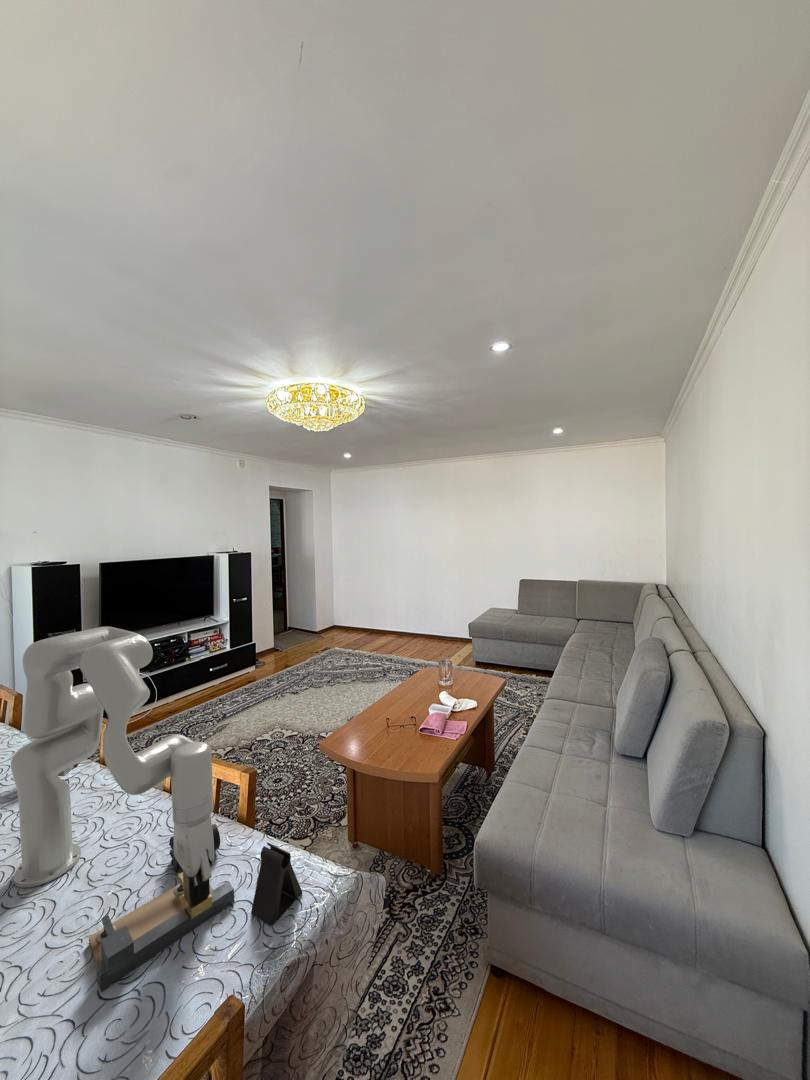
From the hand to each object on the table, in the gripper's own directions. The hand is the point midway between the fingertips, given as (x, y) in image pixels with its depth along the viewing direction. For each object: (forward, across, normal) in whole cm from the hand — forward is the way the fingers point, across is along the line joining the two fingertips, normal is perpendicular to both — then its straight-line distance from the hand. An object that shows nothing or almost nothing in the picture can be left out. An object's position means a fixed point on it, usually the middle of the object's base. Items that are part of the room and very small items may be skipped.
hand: (196, 893), depth 87 cm
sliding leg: (+4, -4, 0) cm, 5 cm away
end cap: (+6, -18, +6) cm, 20 cm away
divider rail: (+6, -4, -5) cm, 8 cm away
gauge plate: (+6, -7, -6) cm, 11 cm away
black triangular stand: (+6, +9, +13) cm, 17 cm away
